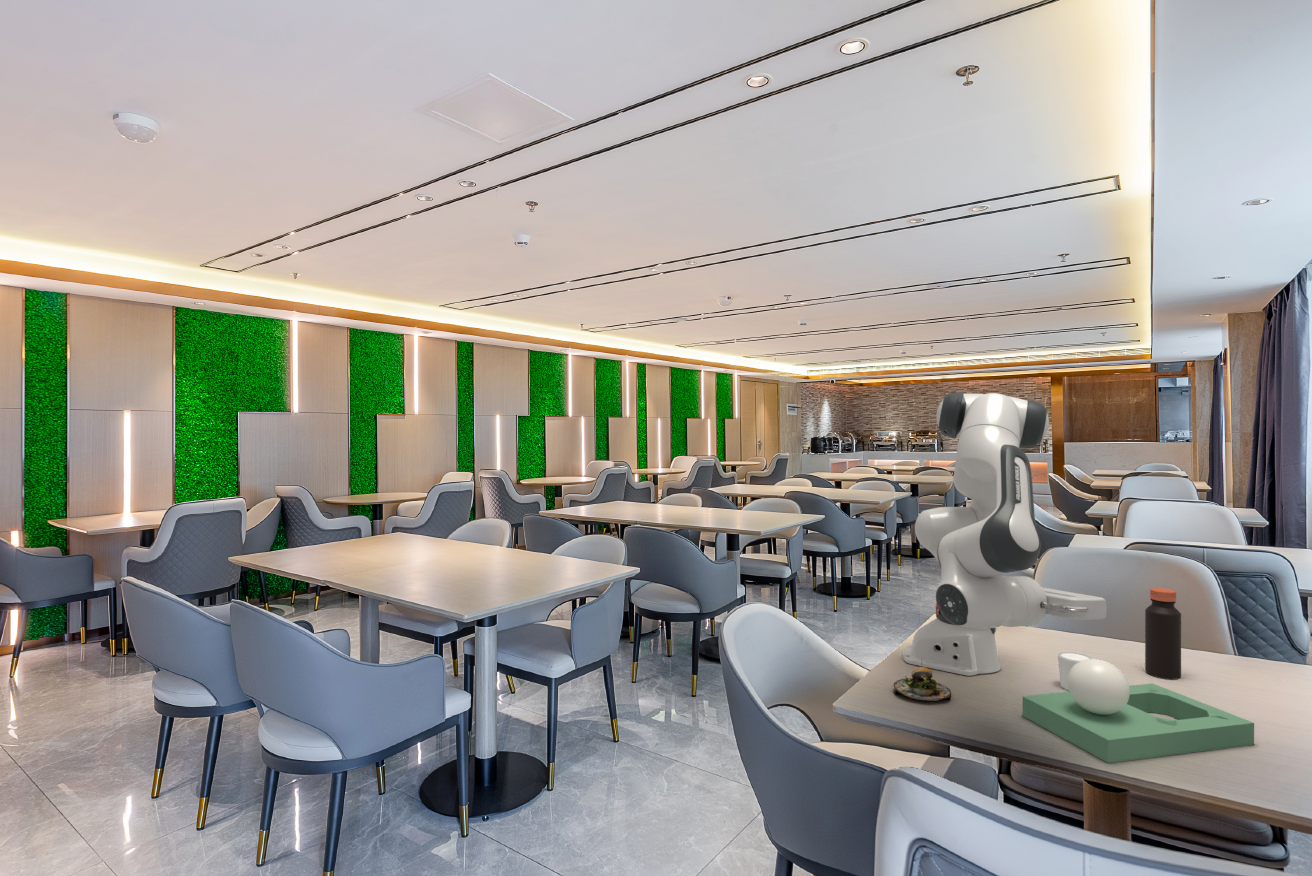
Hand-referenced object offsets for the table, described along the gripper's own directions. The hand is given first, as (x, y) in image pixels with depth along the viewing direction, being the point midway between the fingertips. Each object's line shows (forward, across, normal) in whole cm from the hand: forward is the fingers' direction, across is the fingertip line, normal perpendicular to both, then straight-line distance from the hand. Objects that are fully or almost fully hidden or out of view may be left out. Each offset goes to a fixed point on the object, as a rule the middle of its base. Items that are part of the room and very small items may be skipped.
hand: (1075, 598), depth 126 cm
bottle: (+51, +19, +23) cm, 59 cm away
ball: (+6, +1, +17) cm, 18 cm away
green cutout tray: (+15, 0, +26) cm, 29 cm away
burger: (-11, +28, +26) cm, 40 cm away
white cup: (+24, +20, +24) cm, 39 cm away
